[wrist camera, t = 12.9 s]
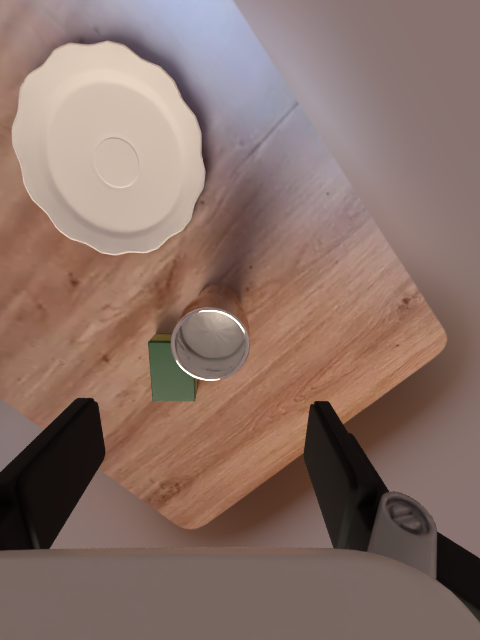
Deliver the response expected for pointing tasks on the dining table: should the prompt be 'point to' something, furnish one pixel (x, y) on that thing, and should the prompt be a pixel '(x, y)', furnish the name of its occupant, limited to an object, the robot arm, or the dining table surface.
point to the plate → (108, 147)
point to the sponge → (168, 373)
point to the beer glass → (212, 335)
